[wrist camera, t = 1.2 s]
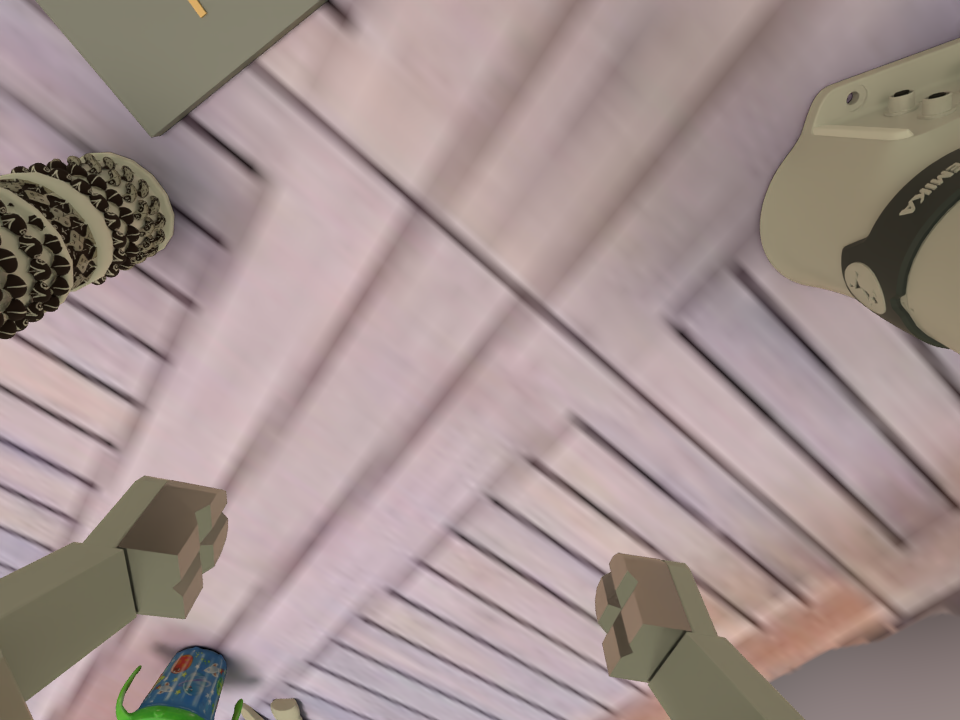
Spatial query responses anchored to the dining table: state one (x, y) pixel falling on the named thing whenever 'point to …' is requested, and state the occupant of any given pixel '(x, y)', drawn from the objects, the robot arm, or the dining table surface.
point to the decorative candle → (74, 230)
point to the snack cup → (183, 689)
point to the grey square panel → (172, 46)
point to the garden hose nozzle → (275, 710)
